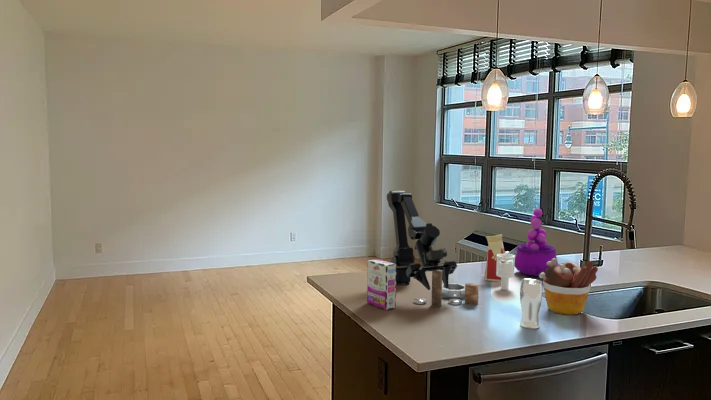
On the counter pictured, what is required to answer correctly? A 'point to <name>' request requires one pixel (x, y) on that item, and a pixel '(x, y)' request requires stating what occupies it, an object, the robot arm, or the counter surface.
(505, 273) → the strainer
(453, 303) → the disc
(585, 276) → the bucket of meat
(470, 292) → the cherry stub
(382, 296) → the candy bar box
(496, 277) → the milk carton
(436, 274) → the walnut peg
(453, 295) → the octagonal socket plate
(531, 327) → the beer glass
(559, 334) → the counter surface
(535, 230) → the decorative plant
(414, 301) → the disc
